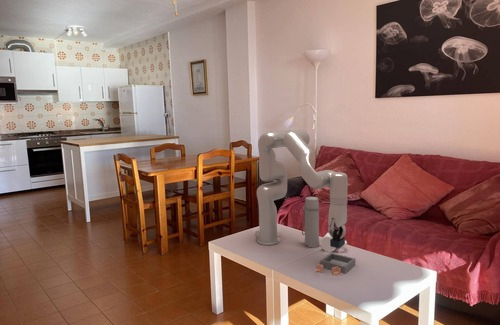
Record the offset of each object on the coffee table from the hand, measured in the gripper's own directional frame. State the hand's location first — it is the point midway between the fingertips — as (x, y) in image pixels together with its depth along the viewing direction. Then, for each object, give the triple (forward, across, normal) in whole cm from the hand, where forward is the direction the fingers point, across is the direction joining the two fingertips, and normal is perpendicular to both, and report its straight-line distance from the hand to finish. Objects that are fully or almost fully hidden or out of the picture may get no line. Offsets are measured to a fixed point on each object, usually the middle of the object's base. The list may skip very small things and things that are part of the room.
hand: (338, 240), depth 170 cm
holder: (+12, 0, 0) cm, 12 cm away
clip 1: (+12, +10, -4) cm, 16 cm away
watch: (+3, 0, 0) cm, 3 cm away
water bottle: (+12, -16, -23) cm, 31 cm away
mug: (+12, -18, -10) cm, 24 cm away
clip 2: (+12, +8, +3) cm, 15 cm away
